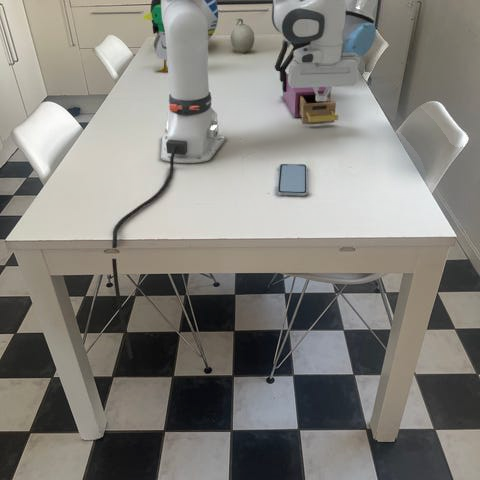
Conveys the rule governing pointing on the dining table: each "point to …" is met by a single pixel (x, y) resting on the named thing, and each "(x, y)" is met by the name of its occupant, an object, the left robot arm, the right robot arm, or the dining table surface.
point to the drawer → (316, 110)
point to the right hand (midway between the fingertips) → (301, 89)
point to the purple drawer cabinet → (294, 93)
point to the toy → (160, 38)
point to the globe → (208, 10)
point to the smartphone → (292, 179)
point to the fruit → (242, 37)
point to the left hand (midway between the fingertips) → (320, 100)
